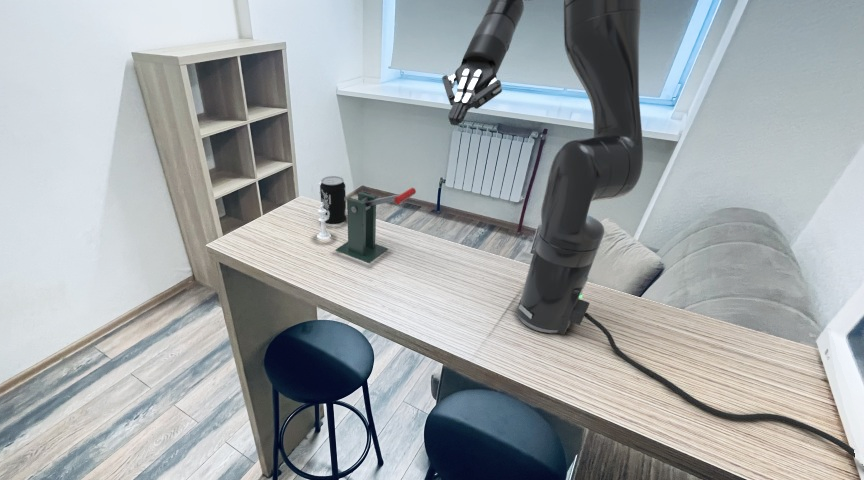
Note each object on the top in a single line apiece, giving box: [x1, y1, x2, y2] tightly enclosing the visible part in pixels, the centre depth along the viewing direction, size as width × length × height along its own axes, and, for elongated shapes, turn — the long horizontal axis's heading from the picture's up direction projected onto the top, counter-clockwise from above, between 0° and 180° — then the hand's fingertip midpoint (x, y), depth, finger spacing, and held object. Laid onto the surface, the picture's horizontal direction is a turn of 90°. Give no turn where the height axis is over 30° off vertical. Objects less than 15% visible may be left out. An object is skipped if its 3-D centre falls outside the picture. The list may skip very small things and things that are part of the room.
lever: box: [357, 187, 417, 210], centre depth 87 cm, size 14×6×2 cm, turn 52°
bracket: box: [334, 191, 389, 264], centre depth 94 cm, size 10×8×14 cm
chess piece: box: [316, 201, 332, 240], centre depth 101 cm, size 5×5×10 cm
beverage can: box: [319, 175, 347, 225], centre depth 108 cm, size 7×7×12 cm
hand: (453, 122), depth 82 cm, fingers closed
